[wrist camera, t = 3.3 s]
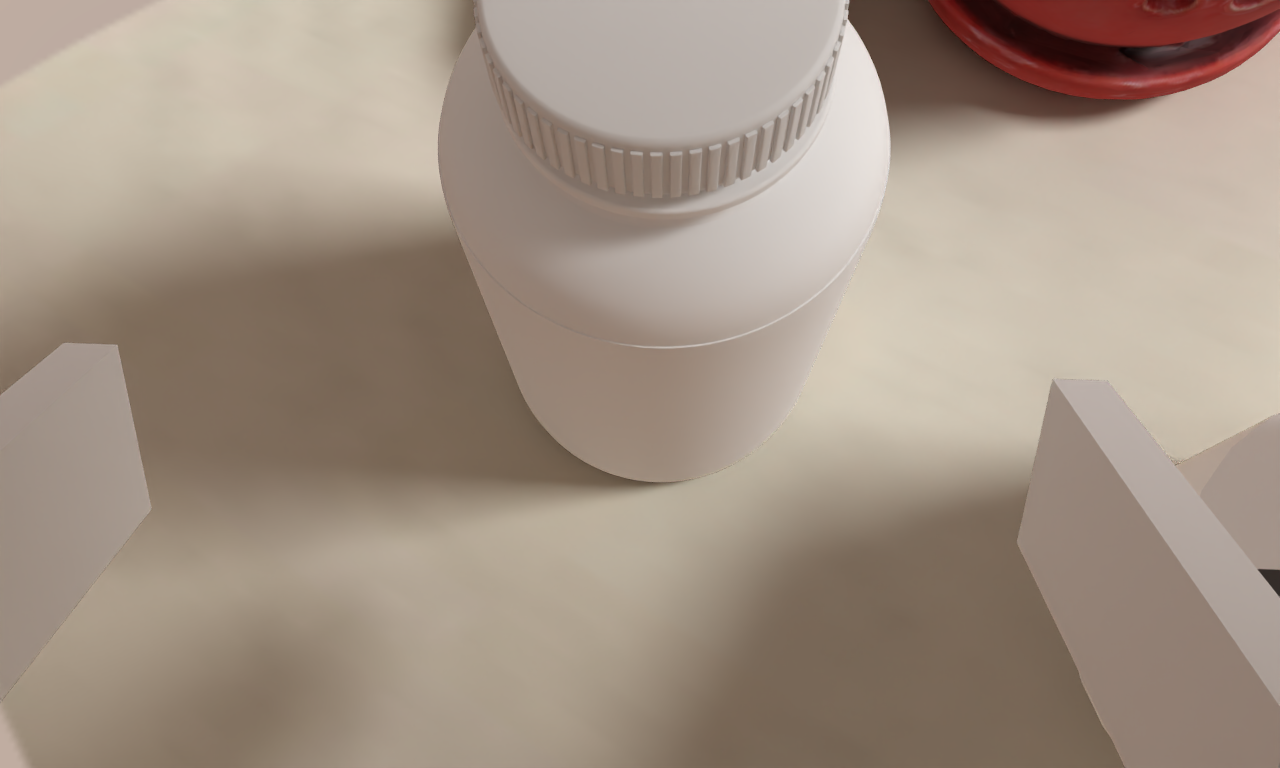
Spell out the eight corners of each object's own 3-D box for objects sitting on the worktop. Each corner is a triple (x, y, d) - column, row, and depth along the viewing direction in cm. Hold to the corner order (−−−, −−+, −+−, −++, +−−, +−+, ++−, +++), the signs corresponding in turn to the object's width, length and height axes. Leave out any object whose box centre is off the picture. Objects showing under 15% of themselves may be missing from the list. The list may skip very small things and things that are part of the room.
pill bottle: (453, 319, 30) (274, -69, 15) (687, 162, 31) (722, -325, 17) (626, 553, 28) (605, 357, 13) (868, 374, 29) (1082, 24, 15)
